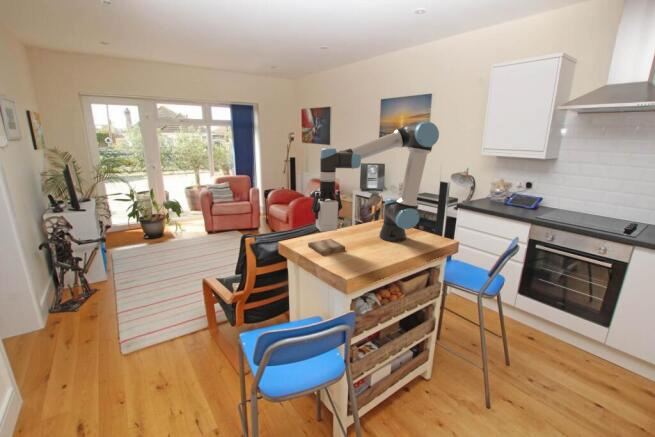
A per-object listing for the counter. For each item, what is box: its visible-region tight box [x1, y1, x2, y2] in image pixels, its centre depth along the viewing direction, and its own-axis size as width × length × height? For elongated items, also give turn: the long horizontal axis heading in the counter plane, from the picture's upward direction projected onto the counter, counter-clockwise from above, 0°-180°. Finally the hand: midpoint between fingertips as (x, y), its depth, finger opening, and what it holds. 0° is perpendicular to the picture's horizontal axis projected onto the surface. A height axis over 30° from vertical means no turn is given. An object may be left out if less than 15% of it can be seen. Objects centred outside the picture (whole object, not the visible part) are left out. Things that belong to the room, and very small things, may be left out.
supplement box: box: [315, 198, 339, 233], centre depth 156 cm, size 9×9×15 cm
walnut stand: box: [307, 238, 346, 256], centre depth 161 cm, size 14×14×2 cm
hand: (326, 223), depth 157 cm, fingers closed on supplement box, 10 cm apart
